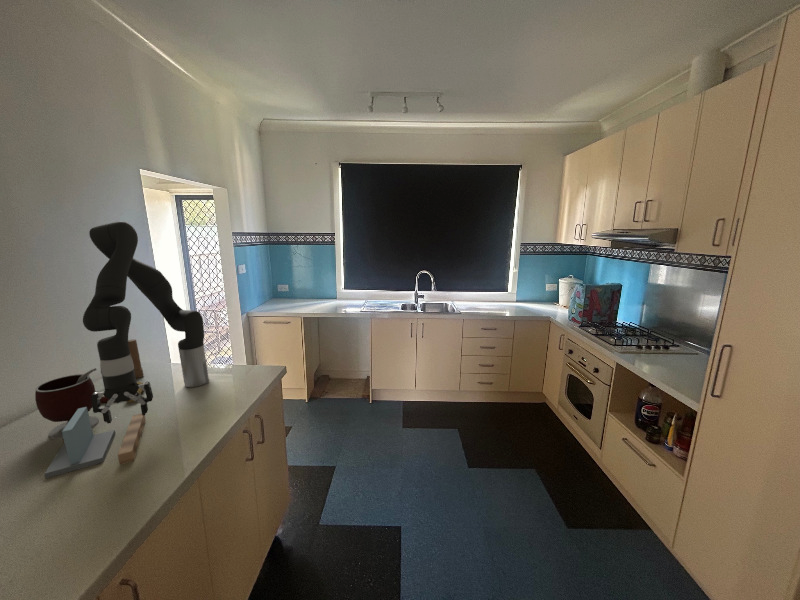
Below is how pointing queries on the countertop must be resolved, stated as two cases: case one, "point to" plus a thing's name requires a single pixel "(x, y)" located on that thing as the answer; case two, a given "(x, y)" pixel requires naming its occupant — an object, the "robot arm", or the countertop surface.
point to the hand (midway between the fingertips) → (127, 418)
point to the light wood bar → (131, 439)
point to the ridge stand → (80, 446)
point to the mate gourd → (65, 399)
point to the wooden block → (135, 358)
